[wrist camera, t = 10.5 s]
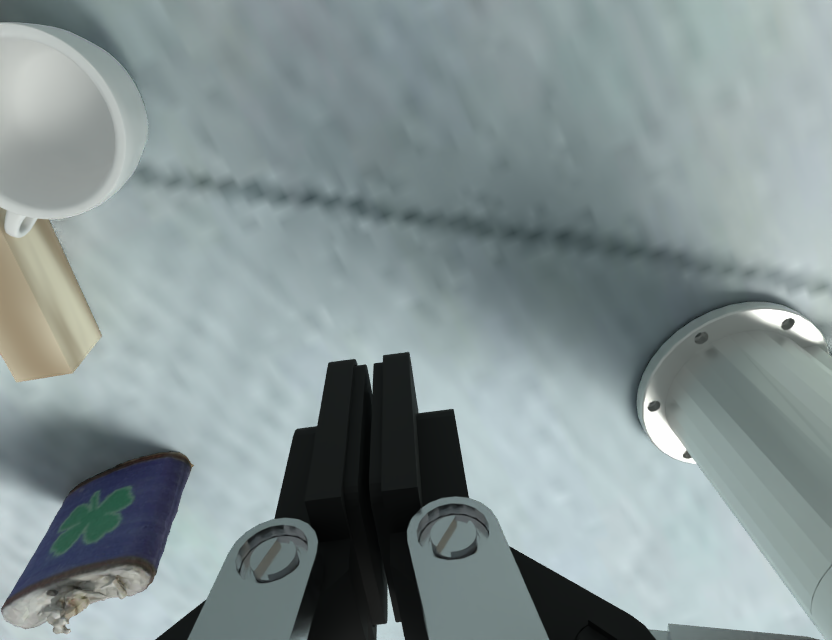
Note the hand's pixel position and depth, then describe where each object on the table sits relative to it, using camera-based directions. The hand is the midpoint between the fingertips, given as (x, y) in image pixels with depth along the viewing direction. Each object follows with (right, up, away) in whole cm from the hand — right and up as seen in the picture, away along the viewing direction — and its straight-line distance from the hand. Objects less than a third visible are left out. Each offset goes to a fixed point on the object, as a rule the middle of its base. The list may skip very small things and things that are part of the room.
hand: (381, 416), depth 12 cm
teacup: (-16, +12, +17) cm, 26 cm away
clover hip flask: (-19, -9, +28) cm, 35 cm away
